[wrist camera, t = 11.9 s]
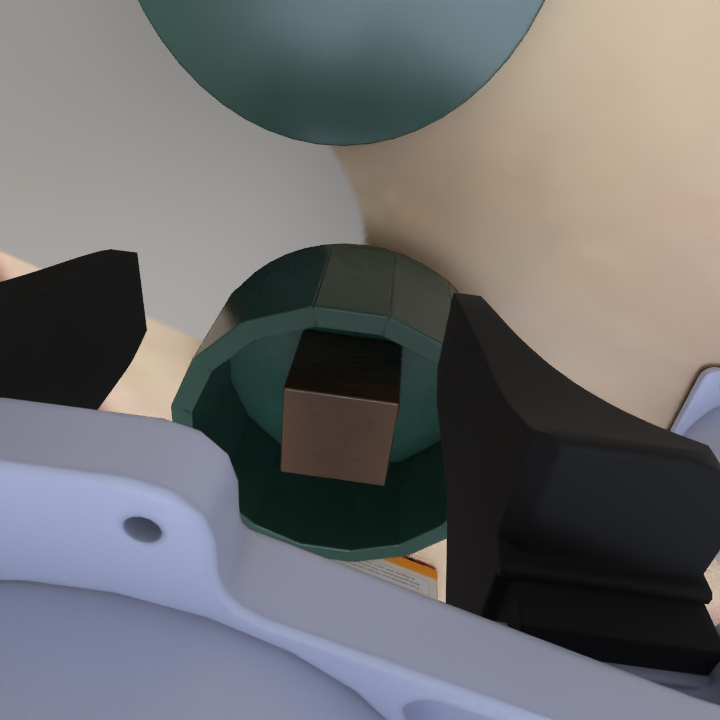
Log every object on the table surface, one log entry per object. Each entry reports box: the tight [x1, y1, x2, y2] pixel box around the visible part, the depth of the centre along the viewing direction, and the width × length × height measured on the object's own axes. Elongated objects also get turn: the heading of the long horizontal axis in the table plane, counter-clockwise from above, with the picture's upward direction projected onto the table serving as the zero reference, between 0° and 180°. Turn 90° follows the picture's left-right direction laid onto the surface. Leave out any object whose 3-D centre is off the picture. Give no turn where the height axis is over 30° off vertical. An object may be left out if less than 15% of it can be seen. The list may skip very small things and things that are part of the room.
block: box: [280, 330, 403, 486], centre depth 25 cm, size 4×4×4 cm
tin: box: [171, 244, 460, 562], centre depth 25 cm, size 13×13×6 cm
